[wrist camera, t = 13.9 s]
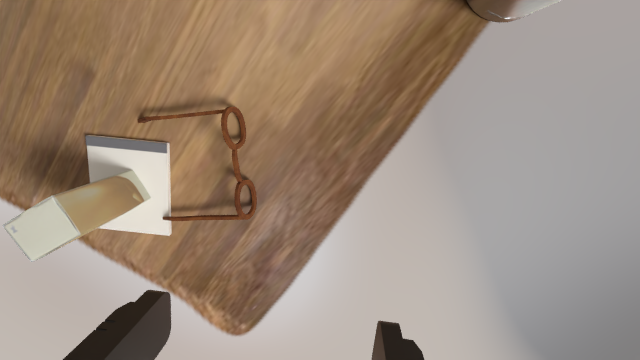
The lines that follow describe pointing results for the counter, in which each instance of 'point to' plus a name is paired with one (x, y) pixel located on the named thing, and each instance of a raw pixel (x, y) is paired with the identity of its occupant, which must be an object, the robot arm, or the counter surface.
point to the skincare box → (75, 213)
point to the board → (150, 169)
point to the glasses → (234, 159)
